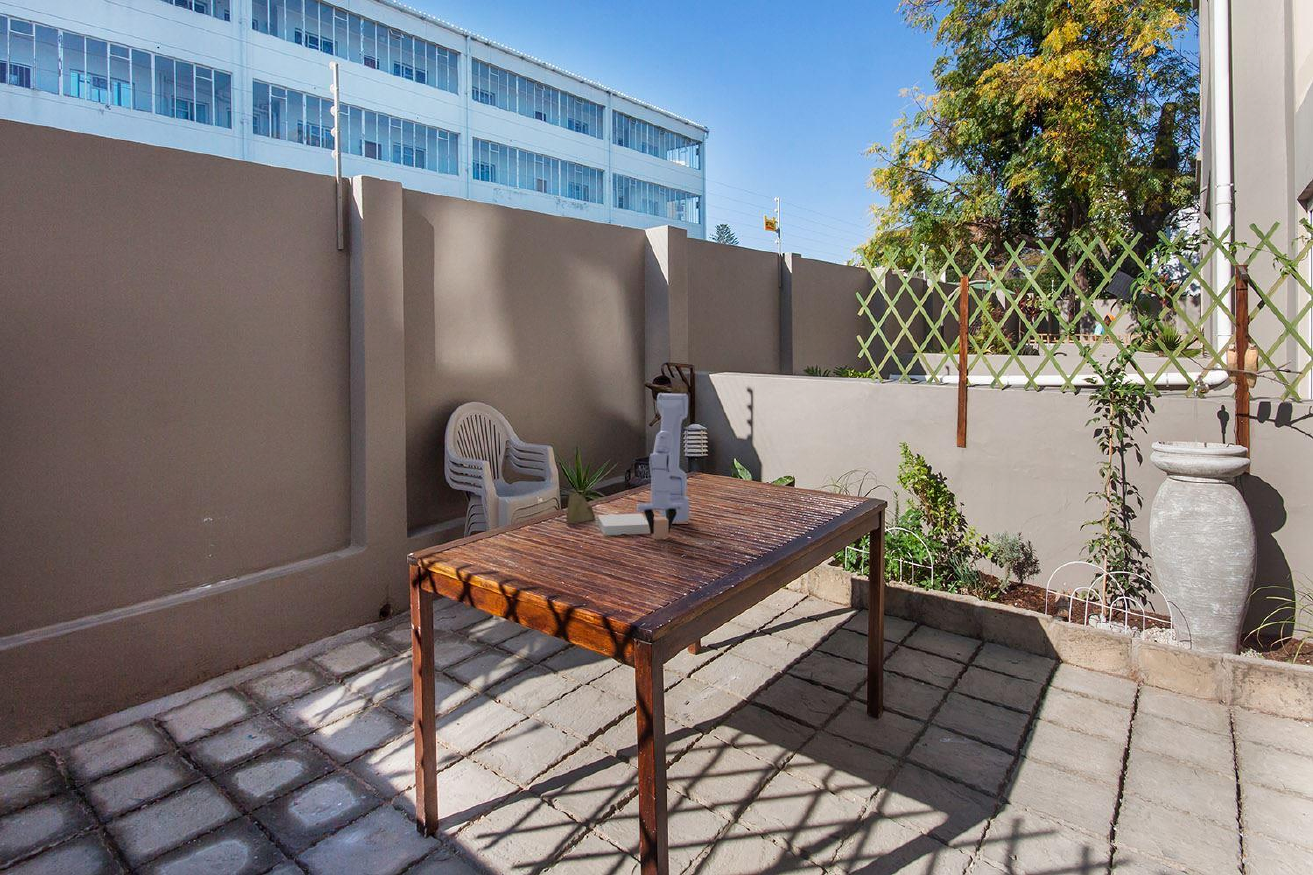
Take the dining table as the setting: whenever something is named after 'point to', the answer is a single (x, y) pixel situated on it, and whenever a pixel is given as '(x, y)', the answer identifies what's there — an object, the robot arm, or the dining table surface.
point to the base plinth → (623, 524)
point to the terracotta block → (660, 527)
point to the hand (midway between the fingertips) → (659, 532)
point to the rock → (578, 509)
